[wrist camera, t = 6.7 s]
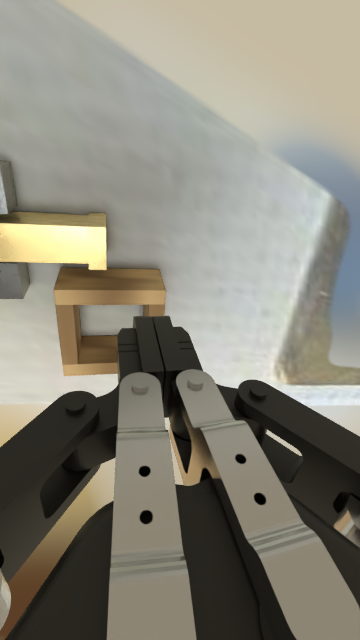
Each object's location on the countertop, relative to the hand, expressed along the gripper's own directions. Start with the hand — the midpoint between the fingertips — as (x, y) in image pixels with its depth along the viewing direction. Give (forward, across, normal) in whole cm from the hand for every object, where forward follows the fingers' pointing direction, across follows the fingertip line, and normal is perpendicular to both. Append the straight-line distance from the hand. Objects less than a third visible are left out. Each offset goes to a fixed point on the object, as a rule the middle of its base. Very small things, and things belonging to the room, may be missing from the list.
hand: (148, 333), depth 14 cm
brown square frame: (+14, +1, +7) cm, 16 cm away
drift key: (+14, +5, 0) cm, 15 cm away
